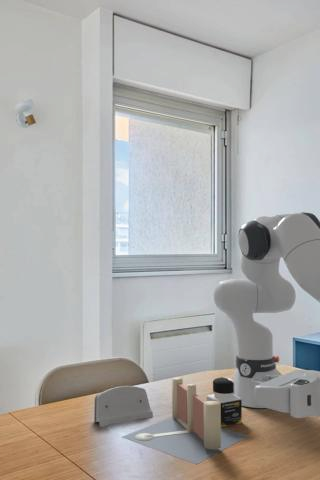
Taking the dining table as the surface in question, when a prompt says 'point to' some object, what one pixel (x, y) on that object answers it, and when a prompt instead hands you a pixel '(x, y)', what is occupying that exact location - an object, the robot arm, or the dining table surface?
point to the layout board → (181, 440)
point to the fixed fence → (183, 402)
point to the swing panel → (207, 421)
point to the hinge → (121, 405)
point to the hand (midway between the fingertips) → (257, 381)
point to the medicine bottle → (227, 401)
